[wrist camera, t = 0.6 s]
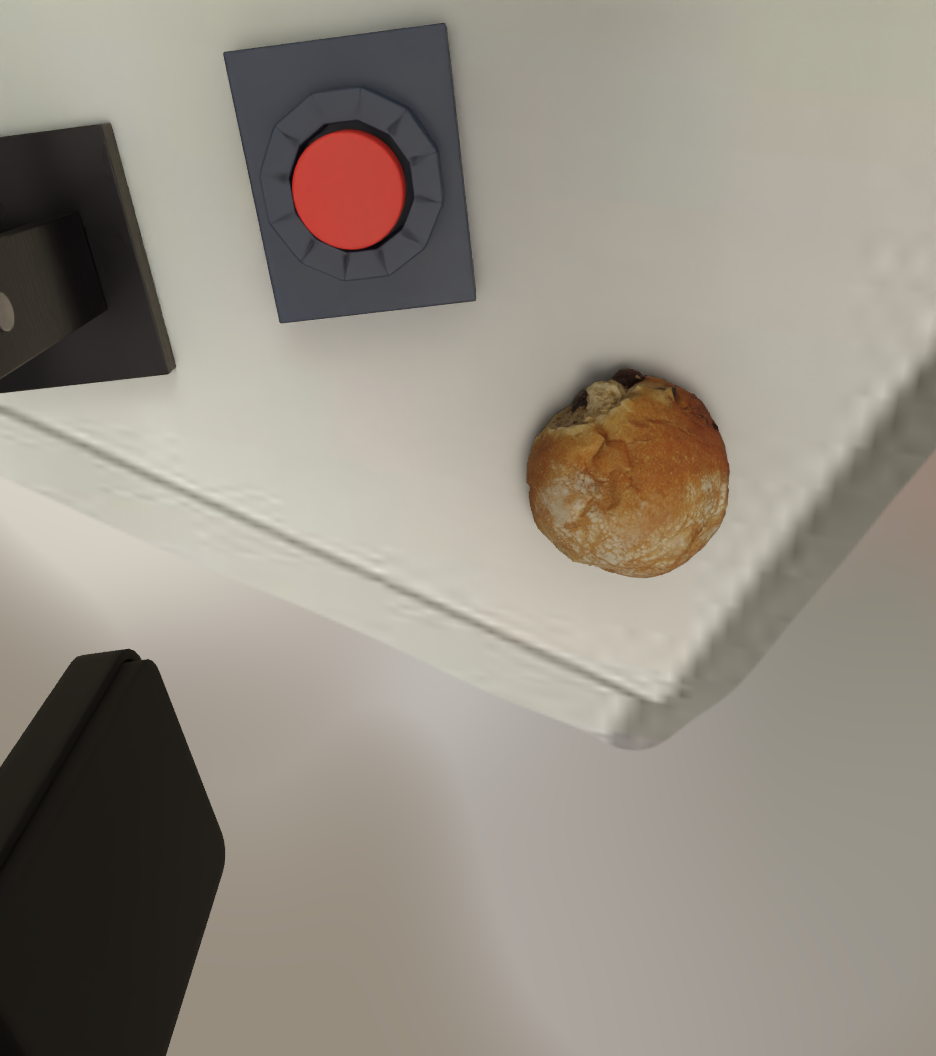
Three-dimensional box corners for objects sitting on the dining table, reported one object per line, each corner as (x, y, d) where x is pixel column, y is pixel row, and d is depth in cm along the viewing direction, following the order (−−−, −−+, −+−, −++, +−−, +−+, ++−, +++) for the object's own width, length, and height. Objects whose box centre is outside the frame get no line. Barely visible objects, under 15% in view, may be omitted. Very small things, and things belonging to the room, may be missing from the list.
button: (289, 136, 36) (281, 138, 34) (397, 122, 36) (394, 124, 34) (310, 248, 38) (303, 256, 36) (413, 236, 38) (410, 243, 36)
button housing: (235, 53, 38) (210, 50, 34) (446, 25, 37) (444, 20, 34) (288, 312, 43) (271, 334, 39) (475, 290, 42) (476, 310, 39)
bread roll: (512, 478, 50) (506, 596, 46) (553, 337, 42) (550, 462, 37) (683, 504, 51) (695, 623, 46) (754, 370, 43) (778, 497, 38)
